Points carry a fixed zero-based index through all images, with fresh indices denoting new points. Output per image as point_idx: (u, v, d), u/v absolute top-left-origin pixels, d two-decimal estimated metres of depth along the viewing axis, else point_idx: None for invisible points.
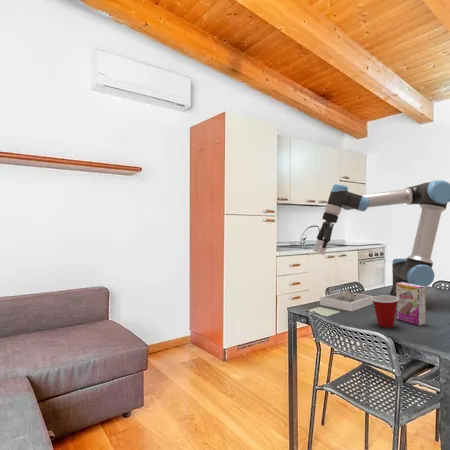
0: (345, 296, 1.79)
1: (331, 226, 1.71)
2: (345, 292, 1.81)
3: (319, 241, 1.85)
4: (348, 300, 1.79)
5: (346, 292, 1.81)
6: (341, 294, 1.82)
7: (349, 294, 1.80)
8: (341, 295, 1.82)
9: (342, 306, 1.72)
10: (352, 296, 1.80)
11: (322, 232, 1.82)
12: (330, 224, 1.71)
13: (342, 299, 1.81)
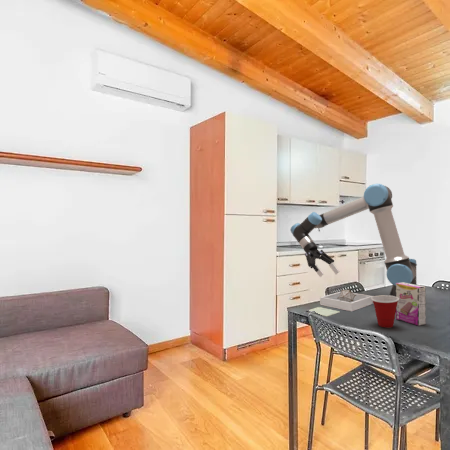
0: (345, 296, 1.79)
1: (307, 254, 1.95)
2: (345, 292, 1.81)
3: (331, 265, 1.98)
4: (348, 300, 1.79)
5: (346, 292, 1.81)
6: (341, 294, 1.82)
7: (349, 294, 1.80)
8: (341, 295, 1.82)
9: (342, 306, 1.72)
10: (352, 296, 1.80)
11: (322, 259, 1.99)
12: (305, 254, 1.96)
13: (342, 299, 1.81)
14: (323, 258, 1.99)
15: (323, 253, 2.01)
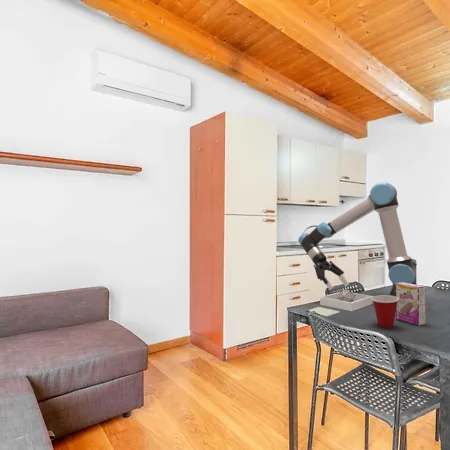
0: (345, 296, 1.79)
1: (316, 266, 1.89)
2: (345, 292, 1.81)
3: (340, 276, 1.92)
4: (348, 300, 1.79)
5: (346, 292, 1.81)
6: (341, 294, 1.82)
7: (349, 294, 1.80)
8: (341, 295, 1.82)
9: (342, 306, 1.72)
10: (352, 296, 1.80)
11: (331, 270, 1.94)
12: (314, 265, 1.90)
13: (342, 299, 1.81)
14: (332, 270, 1.93)
15: (332, 264, 1.96)
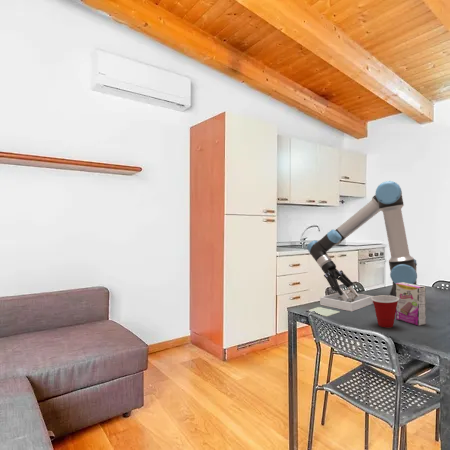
0: None
1: (327, 276, 1.84)
2: (346, 292, 1.81)
3: None
4: (349, 300, 1.79)
5: (347, 292, 1.81)
6: None
7: (350, 294, 1.80)
8: None
9: (342, 306, 1.72)
10: (353, 296, 1.80)
11: (341, 280, 1.88)
12: (325, 275, 1.85)
13: None
14: (341, 279, 1.88)
15: (342, 274, 1.90)
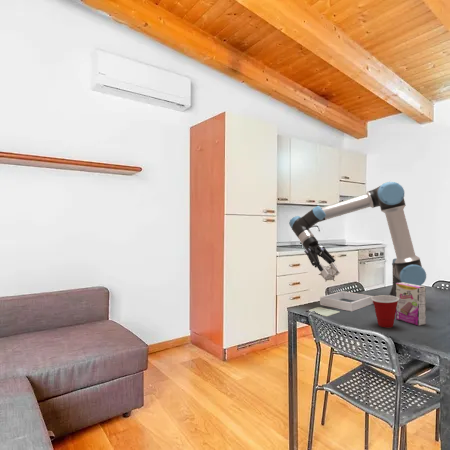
0: None
1: (307, 251, 1.76)
2: (327, 268, 1.73)
3: (331, 264, 1.77)
4: (329, 276, 1.72)
5: (328, 268, 1.73)
6: None
7: (331, 270, 1.72)
8: None
9: (342, 306, 1.72)
10: (334, 272, 1.72)
11: (322, 256, 1.80)
12: (306, 251, 1.77)
13: None
14: (323, 255, 1.80)
15: (324, 250, 1.82)
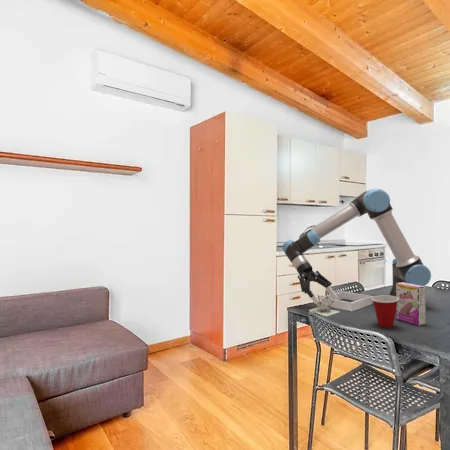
0: (322, 302, 1.65)
1: (300, 277, 1.70)
2: (322, 298, 1.67)
3: (328, 288, 1.73)
4: (325, 307, 1.65)
5: (323, 298, 1.67)
6: None
7: (326, 300, 1.66)
8: None
9: (342, 306, 1.72)
10: (329, 302, 1.66)
11: (318, 281, 1.75)
12: (298, 276, 1.71)
13: (319, 305, 1.67)
14: (319, 281, 1.75)
15: (319, 275, 1.77)
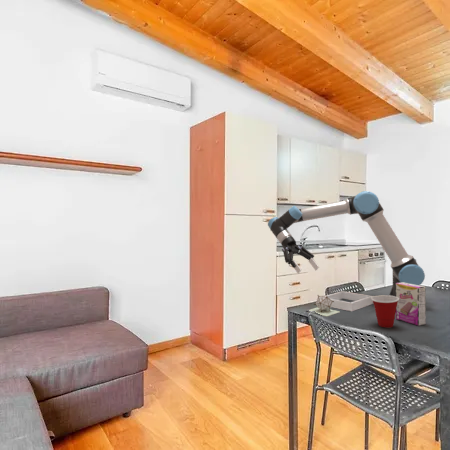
0: (322, 302, 1.65)
1: (284, 249, 1.82)
2: (322, 298, 1.67)
3: (310, 260, 1.85)
4: (325, 307, 1.65)
5: (323, 298, 1.67)
6: (318, 300, 1.68)
7: (326, 300, 1.66)
8: (318, 301, 1.68)
9: (342, 306, 1.72)
10: (329, 302, 1.66)
11: (301, 254, 1.87)
12: (283, 249, 1.83)
13: (319, 305, 1.67)
14: (302, 253, 1.86)
15: (302, 248, 1.89)
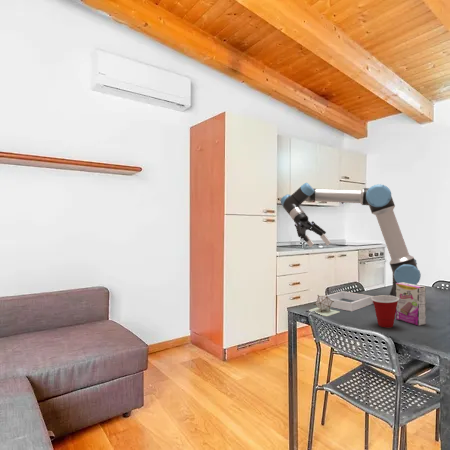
0: (322, 302, 1.65)
1: (297, 224, 1.86)
2: (322, 298, 1.67)
3: (322, 236, 1.89)
4: (325, 307, 1.65)
5: (323, 298, 1.67)
6: (318, 300, 1.68)
7: (326, 300, 1.66)
8: (318, 301, 1.68)
9: (342, 306, 1.72)
10: (329, 302, 1.66)
11: (313, 230, 1.91)
12: (295, 224, 1.87)
13: (319, 305, 1.67)
14: (314, 229, 1.90)
15: (314, 224, 1.93)
